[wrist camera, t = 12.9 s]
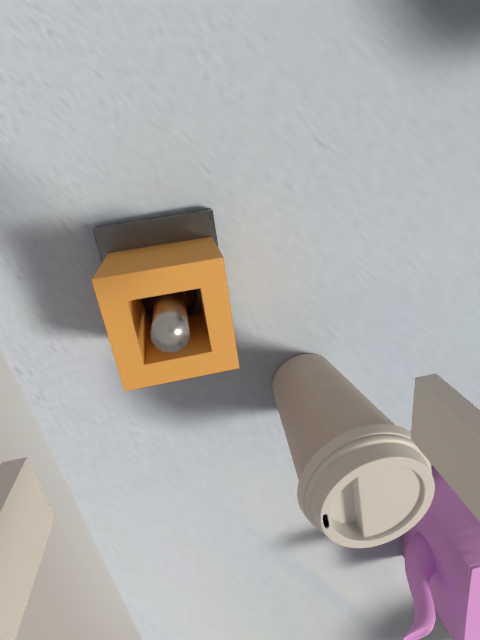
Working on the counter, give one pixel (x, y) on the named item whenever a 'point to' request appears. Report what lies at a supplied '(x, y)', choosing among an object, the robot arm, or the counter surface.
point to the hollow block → (159, 279)
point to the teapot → (444, 566)
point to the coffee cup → (349, 457)
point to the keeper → (163, 309)
